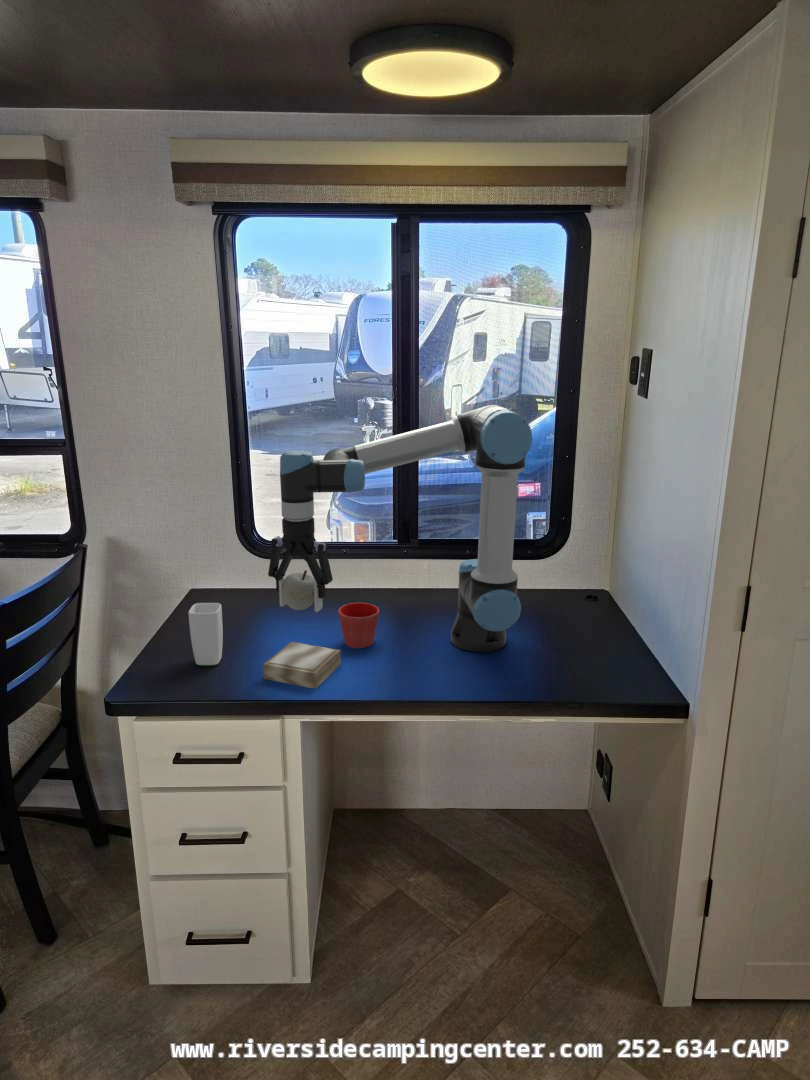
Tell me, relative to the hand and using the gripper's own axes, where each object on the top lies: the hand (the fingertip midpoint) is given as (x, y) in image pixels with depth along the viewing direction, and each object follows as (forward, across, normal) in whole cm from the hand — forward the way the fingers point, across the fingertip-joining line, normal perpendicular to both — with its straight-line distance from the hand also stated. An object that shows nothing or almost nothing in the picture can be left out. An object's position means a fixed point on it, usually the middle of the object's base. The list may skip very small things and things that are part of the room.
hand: (301, 607), depth 179 cm
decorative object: (+1, 0, 0) cm, 1 cm away
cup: (+18, +25, +4) cm, 31 cm away
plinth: (+17, 0, 0) cm, 17 cm away
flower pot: (+18, -6, -21) cm, 28 cm away
